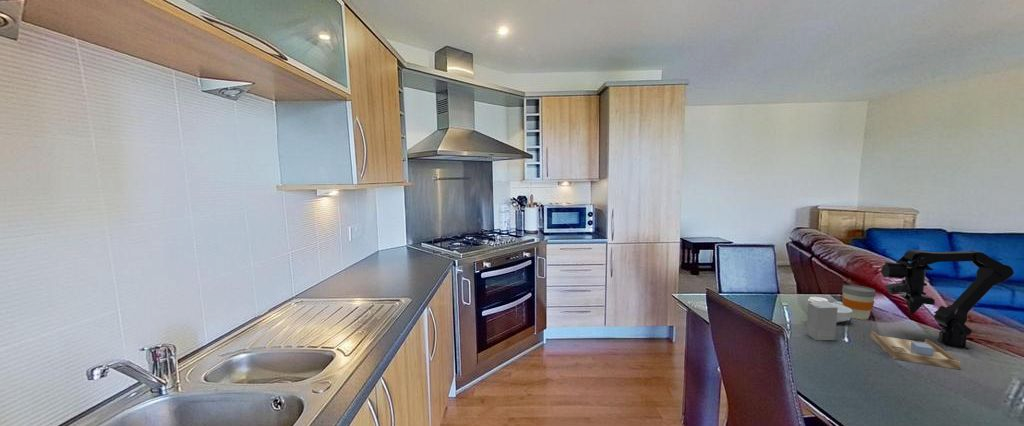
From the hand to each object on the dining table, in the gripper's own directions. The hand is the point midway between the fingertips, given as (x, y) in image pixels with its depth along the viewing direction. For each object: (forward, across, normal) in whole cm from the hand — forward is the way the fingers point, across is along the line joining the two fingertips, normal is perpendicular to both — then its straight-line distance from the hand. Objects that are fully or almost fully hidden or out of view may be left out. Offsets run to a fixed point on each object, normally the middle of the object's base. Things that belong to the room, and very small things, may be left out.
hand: (911, 313), depth 156 cm
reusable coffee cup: (+12, -26, -10) cm, 30 cm away
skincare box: (+12, +15, -34) cm, 39 cm away
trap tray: (+12, +15, -5) cm, 20 cm away
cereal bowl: (+12, -14, -24) cm, 30 cm away
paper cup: (+12, 0, -32) cm, 34 cm away
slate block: (+10, +22, -5) cm, 25 cm away
